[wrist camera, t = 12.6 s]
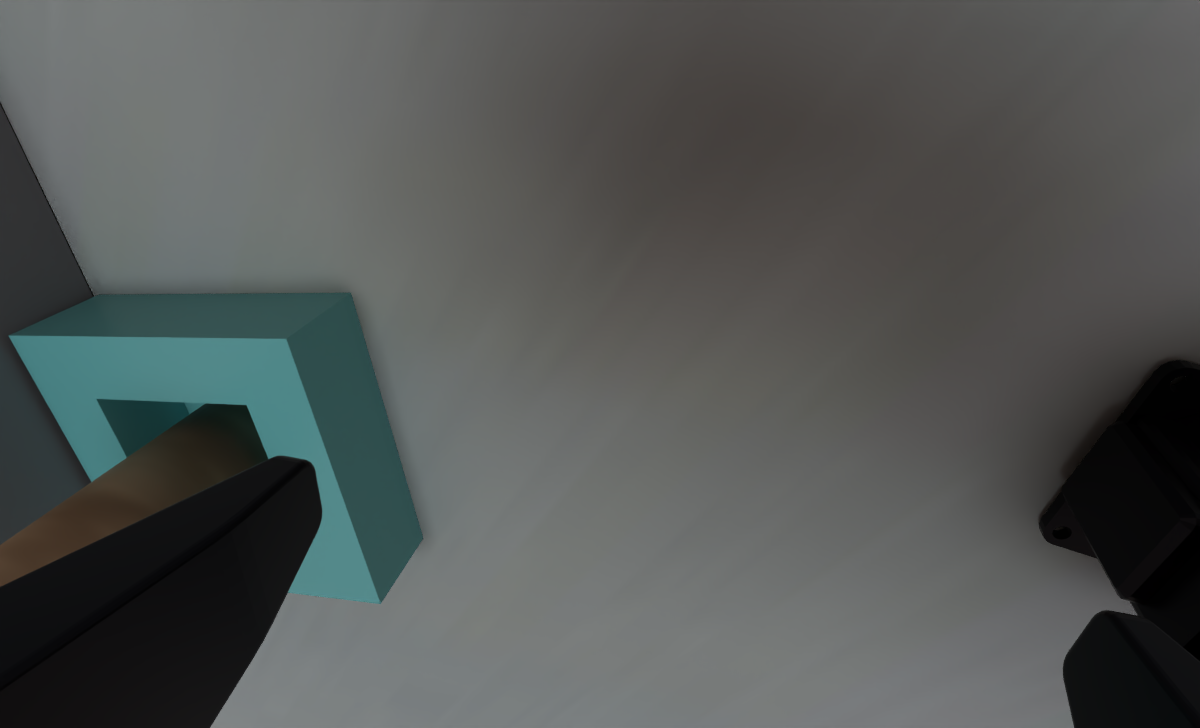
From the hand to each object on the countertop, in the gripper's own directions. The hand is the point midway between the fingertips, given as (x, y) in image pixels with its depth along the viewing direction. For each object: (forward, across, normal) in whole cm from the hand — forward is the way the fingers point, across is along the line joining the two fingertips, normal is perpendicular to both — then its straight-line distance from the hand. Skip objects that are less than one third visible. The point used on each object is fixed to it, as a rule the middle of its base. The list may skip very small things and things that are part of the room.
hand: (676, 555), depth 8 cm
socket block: (+14, +16, +11) cm, 24 cm away
